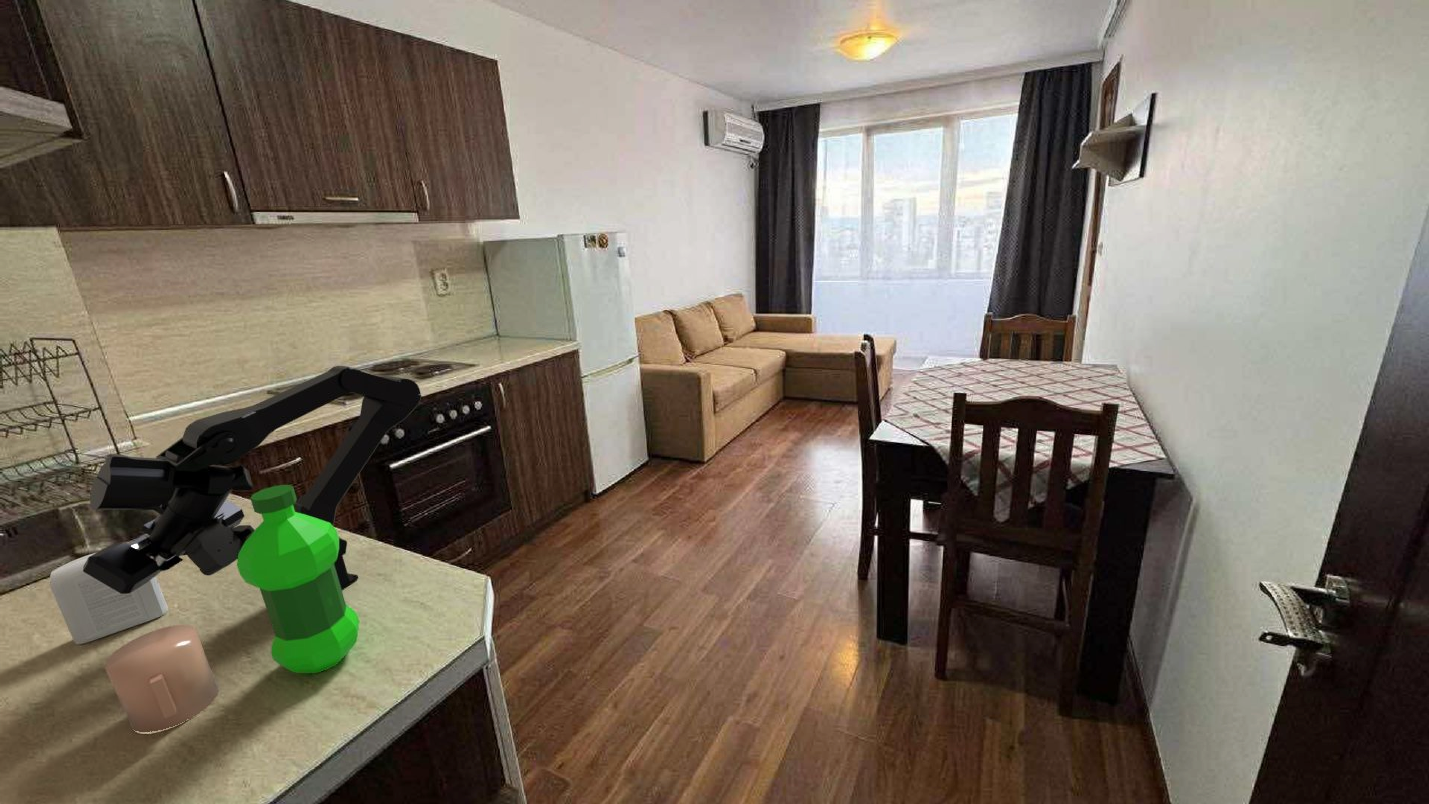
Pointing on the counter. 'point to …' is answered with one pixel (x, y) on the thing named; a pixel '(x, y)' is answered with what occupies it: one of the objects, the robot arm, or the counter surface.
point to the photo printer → (101, 603)
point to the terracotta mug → (162, 678)
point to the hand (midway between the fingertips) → (148, 576)
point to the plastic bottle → (298, 583)
